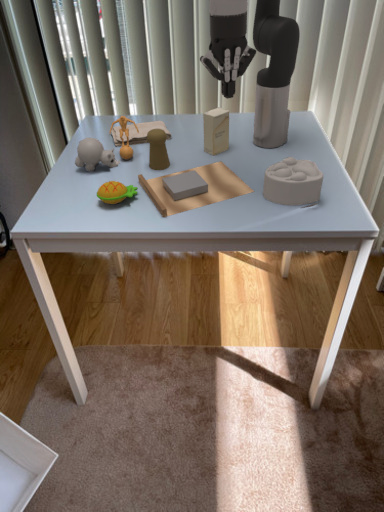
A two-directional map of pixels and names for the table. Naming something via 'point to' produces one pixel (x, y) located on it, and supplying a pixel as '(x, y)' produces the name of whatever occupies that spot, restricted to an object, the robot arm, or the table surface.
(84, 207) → the table surface
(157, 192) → the oak board
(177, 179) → the slate tile
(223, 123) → the skincare box
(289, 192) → the lumpy-topped squat cylinder
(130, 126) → the washcloth
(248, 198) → the table surface
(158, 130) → the olive pepper mill
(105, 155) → the chubby cartoon animal
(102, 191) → the toy pineapple
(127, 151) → the figurine
